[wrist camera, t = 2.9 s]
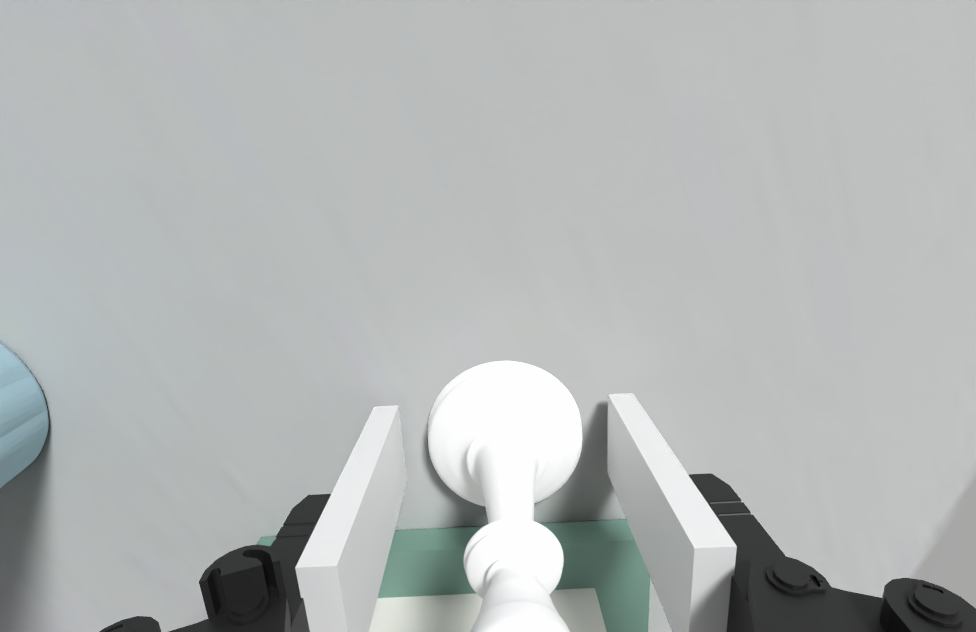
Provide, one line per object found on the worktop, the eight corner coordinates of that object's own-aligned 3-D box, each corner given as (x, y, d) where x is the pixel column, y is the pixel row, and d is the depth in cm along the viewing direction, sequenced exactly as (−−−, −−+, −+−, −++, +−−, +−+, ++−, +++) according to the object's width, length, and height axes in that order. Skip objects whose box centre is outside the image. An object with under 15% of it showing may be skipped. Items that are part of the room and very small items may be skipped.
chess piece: (512, 523, 17) (547, 987, 7) (396, 440, 16) (261, 838, 6) (613, 423, 16) (809, 804, 6) (495, 328, 15) (513, 601, 5)
